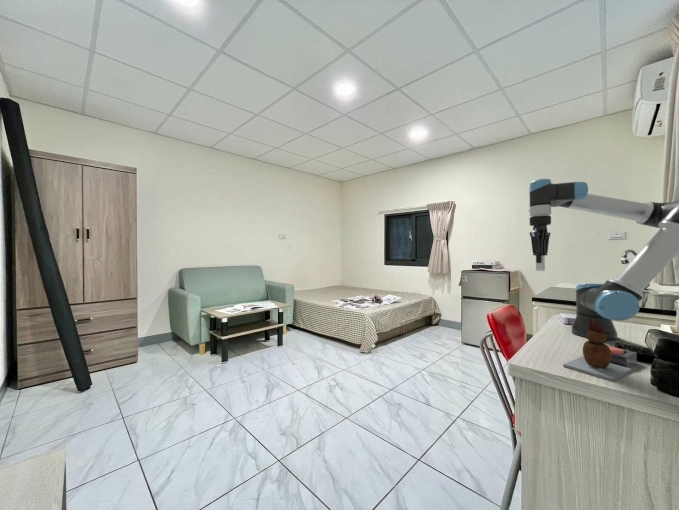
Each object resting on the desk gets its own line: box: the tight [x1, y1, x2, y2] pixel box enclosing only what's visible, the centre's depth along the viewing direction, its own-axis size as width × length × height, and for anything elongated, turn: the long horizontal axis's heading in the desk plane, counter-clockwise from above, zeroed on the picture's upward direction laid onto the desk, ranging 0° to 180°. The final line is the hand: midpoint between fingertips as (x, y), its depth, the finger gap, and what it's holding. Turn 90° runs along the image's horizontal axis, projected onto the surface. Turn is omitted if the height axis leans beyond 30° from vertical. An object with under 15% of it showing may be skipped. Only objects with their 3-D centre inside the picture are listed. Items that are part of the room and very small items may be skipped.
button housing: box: [607, 345, 638, 368], centre depth 94 cm, size 9×9×4 cm
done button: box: [609, 346, 624, 355], centre depth 94 cm, size 5×5×3 cm
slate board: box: [562, 355, 632, 382], centre depth 88 cm, size 14×12×1 cm
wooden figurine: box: [582, 318, 612, 368], centre depth 88 cm, size 7×6×15 cm
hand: (540, 270), depth 119 cm, fingers closed
